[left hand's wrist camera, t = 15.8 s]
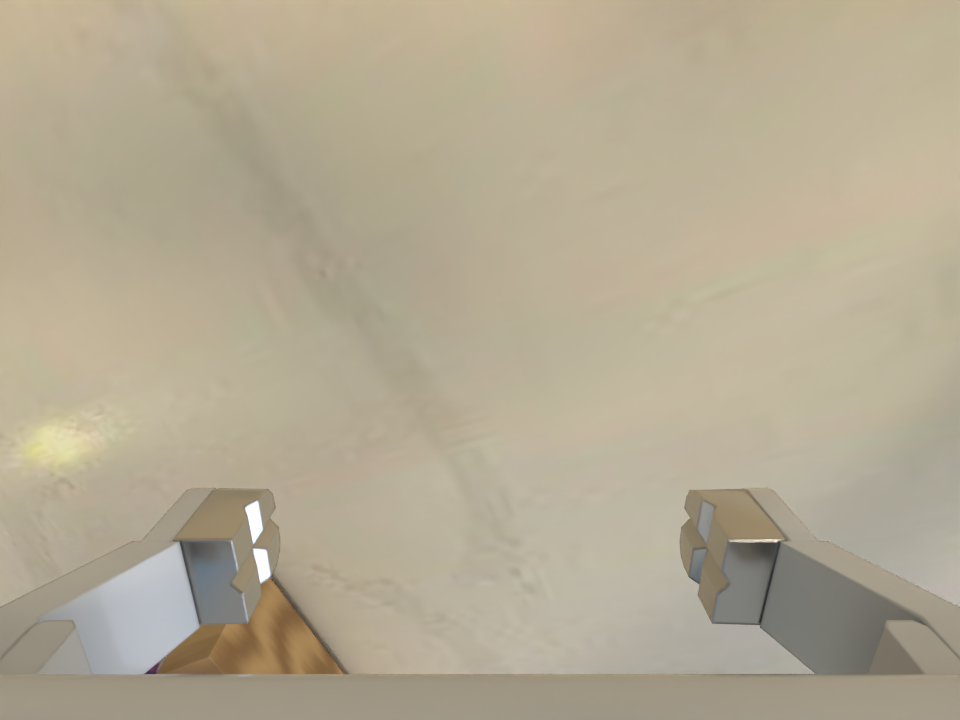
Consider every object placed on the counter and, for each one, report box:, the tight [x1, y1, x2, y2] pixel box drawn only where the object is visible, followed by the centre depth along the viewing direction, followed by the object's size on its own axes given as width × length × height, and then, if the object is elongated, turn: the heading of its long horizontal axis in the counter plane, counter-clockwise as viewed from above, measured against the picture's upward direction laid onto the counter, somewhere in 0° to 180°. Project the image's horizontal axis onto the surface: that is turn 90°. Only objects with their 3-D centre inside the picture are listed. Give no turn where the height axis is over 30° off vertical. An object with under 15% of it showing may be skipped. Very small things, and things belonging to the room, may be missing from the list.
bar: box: [156, 578, 344, 674], centre depth 47 cm, size 26×5×9 cm, turn 25°
